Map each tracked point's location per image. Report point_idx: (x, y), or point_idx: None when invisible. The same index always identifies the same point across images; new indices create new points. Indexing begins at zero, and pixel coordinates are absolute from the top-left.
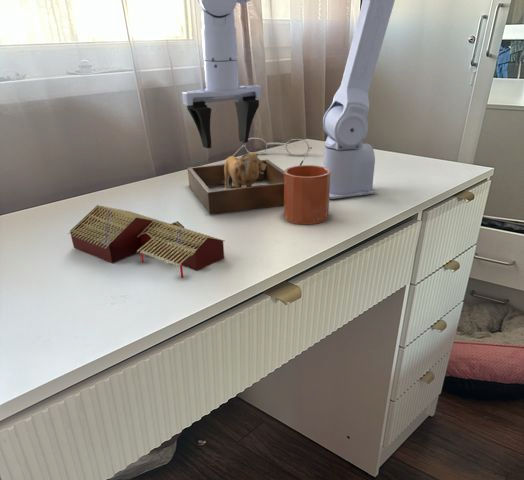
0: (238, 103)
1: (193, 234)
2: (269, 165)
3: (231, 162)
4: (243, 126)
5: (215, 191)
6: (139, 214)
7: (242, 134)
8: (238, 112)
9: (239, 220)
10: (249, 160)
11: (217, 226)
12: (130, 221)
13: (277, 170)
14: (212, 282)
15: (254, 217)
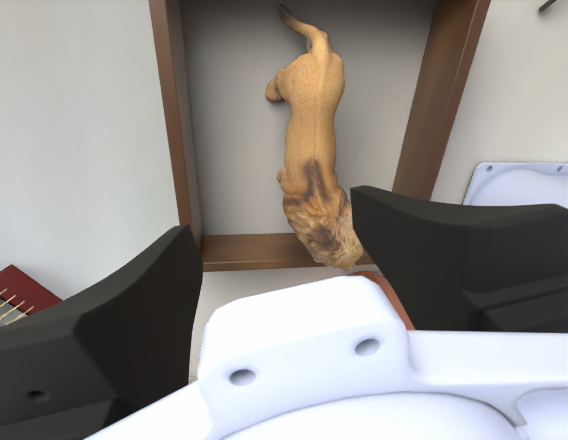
0: (455, 281)
1: None
2: (460, 43)
3: (301, 136)
4: (382, 249)
5: (206, 271)
6: (19, 304)
7: (363, 226)
8: (418, 239)
9: (245, 286)
10: (324, 263)
11: (199, 300)
12: (2, 276)
13: (437, 132)
14: None
15: (276, 280)
